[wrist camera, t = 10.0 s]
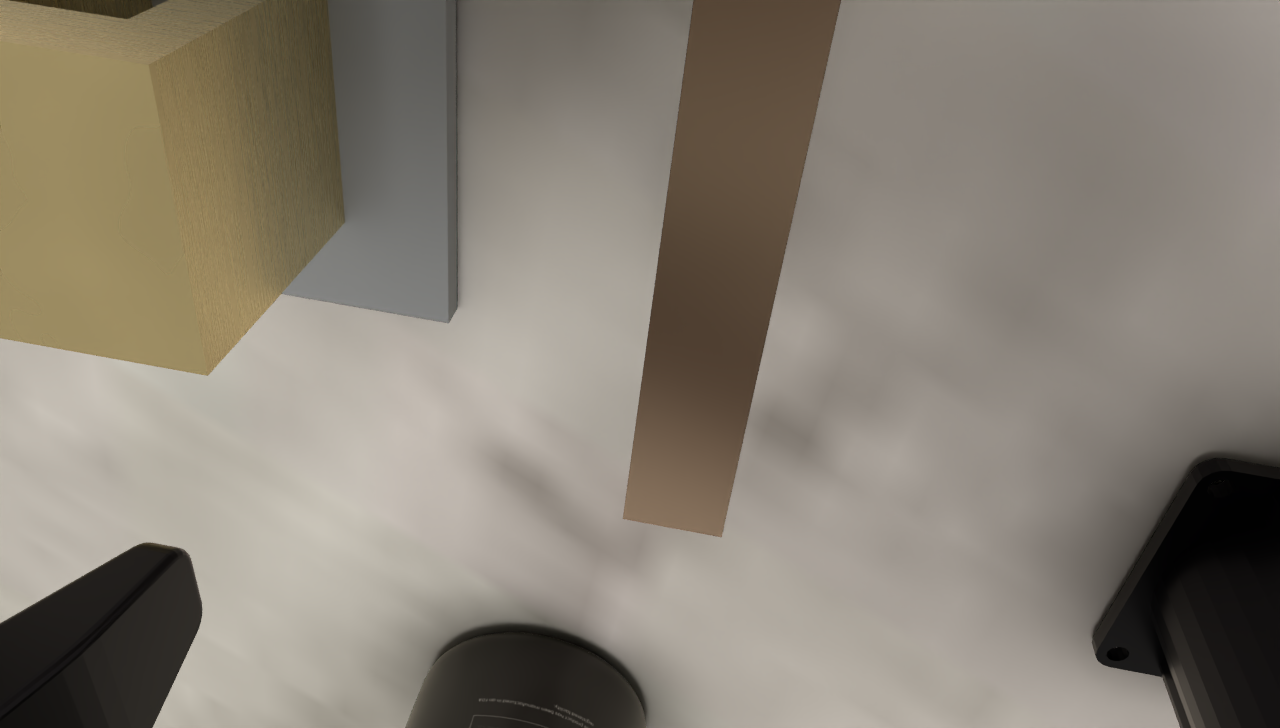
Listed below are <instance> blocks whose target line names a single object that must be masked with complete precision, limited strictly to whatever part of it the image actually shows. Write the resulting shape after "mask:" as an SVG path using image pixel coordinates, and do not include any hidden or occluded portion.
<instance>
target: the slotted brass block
mask: <svg viewBox="0 0 1280 728" xmlns="http://www.w3.org/2000/svg"><path fill="white" fill-rule="evenodd" d="M344 223H345V215H344V202H343V190H342V177H341V164H340V151H339V139H338V126H337V113H336V100H335V88H334V75H333V62H332V50H331V37H330V24H329V11H328V0H168V1H166V2H164V3H161V4H159V5H157V6H155V7H153V6H152V0H0V338H3V339H8V340H14V341H19V342H25V343H30V344H36V345H41V346H47V347H52V348H58V349H63V350H69V351H74V352H80V353H85V354H91V355H96V356H102V357H108V358H113V359H119V360H124V361H130V362H135V363H141V364H146V365H152V366H157V367H163V368H168V369H174V370H179V371H185V372H190V373H196V374H201V375H207V376H208V375H209V374H210V373H211V372H212V370H213V369H214V368H215V367H216V366H217V365H218V364H219V363H220V361H221V360H222V359H223V358H224V357H225V356H226V355H227V354H228V353H229V351H230V350H231V349H232V348H233V347H234V346H235V345H236V344H237V343H238V341H239V340H240V339H241V338H242V337H243V336H244V335H245V334H246V332H247V331H248V330H249V329H250V328H251V327H252V326H253V325H254V324H255V322H256V321H257V320H258V319H259V318H260V317H261V316H262V315H263V314H264V312H265V311H266V310H267V309H268V308H269V307H270V306H271V305H272V303H273V302H274V301H275V300H276V299H277V298H278V297H279V296H280V295H281V293H282V292H283V291H284V290H285V289H286V288H287V287H288V286H289V285H290V283H291V282H292V281H293V280H294V279H295V278H296V277H297V276H298V274H299V273H300V272H301V271H302V270H303V269H304V268H305V267H306V266H307V264H308V263H309V262H310V261H311V260H312V259H313V258H314V257H315V255H316V254H317V253H318V252H319V251H320V250H321V249H322V248H323V247H324V245H325V244H326V243H327V242H328V241H329V240H330V239H331V238H332V237H333V235H334V234H335V233H336V232H337V231H338V230H339V229H340V228H341V226H342V225H343V224H344Z"/></svg>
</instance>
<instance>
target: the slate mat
mask: <svg viewBox="0 0 1280 728" xmlns="http://www.w3.org/2000/svg"><path fill="white" fill-rule="evenodd" d="M166 1H168V0H152V6H153V7H155V6H157V5H159V4H161V3H164V2H166ZM328 11H329V24H330V37H331V50H332V62H333V75H334V88H335V100H336V113H337V126H338V139H339V151H340V164H341V177H342V190H343V202H344V215H345V223H344V224H343V225H342V226H341V228H340V229H339V230H338V231H337V232H336V233H335V234H334V235H333V237H332V238H331V239H330V240H329V241H328V242H327V243H326V244H325V245H324V247H323V248H322V249H321V250H320V251H319V252H318V253H317V254H316V255H315V257H314V258H313V259H312V260H311V261H310V262H309V263H308V264H307V266H306V267H305V268H304V269H303V270H302V271H301V272H300V273H299V274H298V276H297V277H296V278H295V279H294V280H293V281H292V282H291V283H290V285H289V286H288V287H287V288H286V289H285V290H284V291H283V292H282V293H281V294H285V295H291V296H296V297H302V298H308V299H313V300H319V301H325V302H330V303H336V304H342V305H348V306H353V307H359V308H365V309H370V310H376V311H382V312H387V313H393V314H399V315H404V316H410V317H416V318H421V319H427V320H433V321H439V322H444V323H449V322H450V320H451V318H452V317H453V315H454V313H455V311H456V310H457V120H456V0H328Z"/></svg>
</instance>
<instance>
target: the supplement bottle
mask: <svg viewBox="0 0 1280 728" xmlns="http://www.w3.org/2000/svg"><path fill="white" fill-rule="evenodd" d="M405 728H646V721H645V715H644V711H643V708H642V705H641V703H640V700H639V698H638V697H637V695H636V693H635V691H634V690H633V688H632V687H631V686H630V684H629V683H628V682H627V680H626V679H625V678H624V677H623V676H622V675H621V674H620V673H619V672H618V671H617V670H616V669H615V668H613V667H612V666H611V665H610V664H608V663H607V662H606V661H604V660H603V659H601V658H600V657H598V656H596V655H595V654H593V653H591V652H589V651H587V650H585V649H583V648H581V647H579V646H577V645H574V644H572V643H569V642H566V641H563V640H560V639H556V638H553V637H549V636H544V635H539V634H532V633H521V632H503V633H493V634H487V635H482V636H478V637H475V638H471V639H469V640H466V641H464V642H462V643H460V644H458V645H456V646H454V647H452V648H451V649H449V650H448V651H447V652H445V653H444V654H443V655H442V656H441V657H440V658H438V660H437V661H436V662H435V663H434V664H433V666H432V667H431V668H430V670H429V672H428V674H427V676H426V678H425V680H424V682H423V684H422V687H421V689H420V692H419V694H418V697H417V699H416V702H415V704H414V706H413V709H412V711H411V714H410V717H409V719H408V722H407V724H406V727H405Z"/></svg>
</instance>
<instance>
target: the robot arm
mask: <svg viewBox="0 0 1280 728" xmlns="http://www.w3.org/2000/svg"><path fill="white" fill-rule="evenodd" d="M1217 480H1225V481H1224V482H1223V483H1220V484H1217V485H1210V484H1211V483H1213V482H1215V481H1217ZM201 618H202V602H201V598H200V594H199V590H198V585H197V581H196V577H195V573H194V569H193V565H192V561H191V558H190V555H189V554H188V553H187V552H186V551H185V550H183V549H181V548H177V547H172V546H167V545H162V544H157V543H142V544H139V545H137V546H134V547H132V548H131V549H129V550H127V551H125V552H124V553H122V554H120V555H118V556H117V557H115V558H113V559H111V560H110V561H108V562H106V563H105V564H103V565H101V566H99V567H98V568H96V569H94V570H92V571H91V572H89V573H87V574H85V575H84V576H82V577H80V578H78V579H77V580H75V581H73V582H71V583H70V584H68V585H66V586H64V587H63V588H61V589H59V590H57V591H56V592H54V593H52V594H50V595H49V596H47V597H45V598H44V599H42V600H40V601H38V602H37V603H35V604H33V605H31V606H30V607H28V608H26V609H24V610H23V611H21V612H19V613H17V614H16V615H14V616H12V617H10V618H9V619H7V620H5V621H3V622H2V623H0V728H152V727H153V725H154V723H155V721H156V719H157V717H158V715H159V713H160V710H161V708H162V706H163V704H164V702H165V700H166V698H167V695H168V693H169V691H170V689H171V687H172V685H173V683H174V681H175V678H176V676H177V674H178V672H179V670H180V668H181V666H182V663H183V661H184V659H185V657H186V655H187V653H188V651H189V649H190V646H191V644H192V642H193V640H194V638H195V636H196V634H197V631H198V629H199V626H200V622H201ZM1092 645H1093V648H1094V651H1095V655H1096V658H1097V660H1098V661H1099V662H1100V663H1101V664H1103V665H1106V666H1108V667H1113V668H1118V669H1123V670H1128V671H1134V672H1139V673H1144V674H1150V675H1155V676H1160V677H1163V680H1164V683H1165V686H1166V688H1167V691H1168V694H1169V697H1170V700H1171V703H1172V705H1173V708H1174V711H1175V714H1176V717H1177V719H1178V722H1179V725H1180V728H1280V468H1276V467H1270V466H1264V465H1259V464H1253V463H1247V462H1242V461H1236V460H1230V459H1220V458H1215V459H1211V460H1207V461H1204V462H1202V463H1200V464H1199V465H1197V466H1196V467H1195V468H1194V469H1193V470H1192V471H1191V472H1190V474H1189V476H1188V478H1187V479H1186V481H1185V483H1184V484H1183V486H1182V488H1181V489H1180V491H1179V493H1178V495H1177V496H1176V498H1175V500H1174V501H1173V503H1172V505H1171V506H1170V508H1169V510H1168V511H1167V513H1166V515H1165V517H1164V518H1163V520H1162V522H1161V523H1160V525H1159V527H1158V528H1157V530H1156V532H1155V533H1154V535H1153V537H1152V539H1151V540H1150V542H1149V544H1148V545H1147V547H1146V549H1145V550H1144V552H1143V554H1142V555H1141V557H1140V559H1139V561H1138V562H1137V564H1136V566H1135V567H1134V569H1133V571H1132V572H1131V574H1130V576H1129V577H1128V579H1127V581H1126V583H1125V584H1124V586H1123V588H1122V589H1121V591H1120V593H1119V594H1118V596H1117V598H1116V599H1115V601H1114V603H1113V605H1112V606H1111V608H1110V610H1109V611H1108V613H1107V615H1106V616H1105V618H1104V620H1103V622H1102V623H1101V625H1100V627H1099V628H1098V630H1097V632H1096V633H1095V635H1094V637H1093V640H1092ZM1115 647H1117V648H1115Z"/></svg>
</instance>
